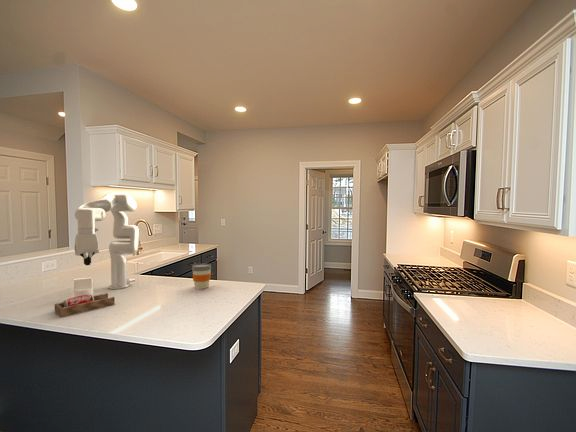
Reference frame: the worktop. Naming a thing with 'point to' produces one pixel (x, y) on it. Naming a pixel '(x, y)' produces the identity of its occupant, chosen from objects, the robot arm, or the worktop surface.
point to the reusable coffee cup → (201, 275)
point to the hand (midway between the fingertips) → (87, 264)
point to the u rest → (85, 305)
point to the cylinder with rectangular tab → (83, 286)
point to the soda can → (78, 300)
